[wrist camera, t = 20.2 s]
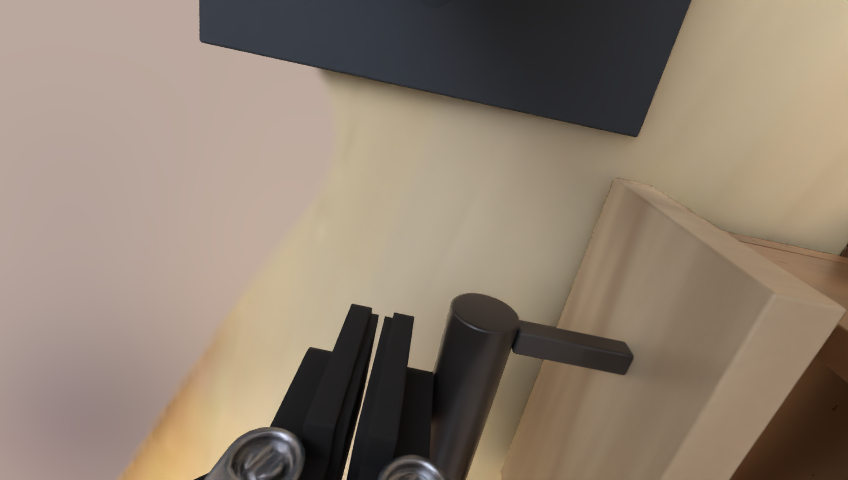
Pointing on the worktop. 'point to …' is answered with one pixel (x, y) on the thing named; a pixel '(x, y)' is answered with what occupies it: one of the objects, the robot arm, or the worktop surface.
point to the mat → (474, 49)
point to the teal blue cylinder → (434, 3)
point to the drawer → (661, 359)
